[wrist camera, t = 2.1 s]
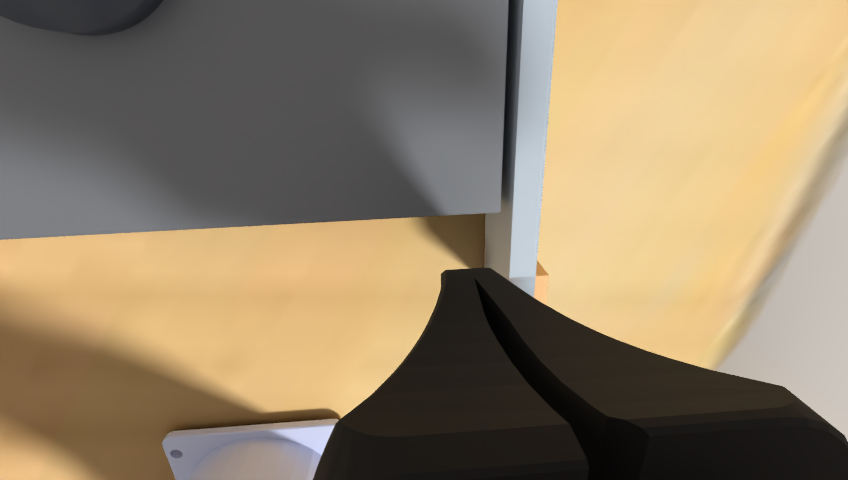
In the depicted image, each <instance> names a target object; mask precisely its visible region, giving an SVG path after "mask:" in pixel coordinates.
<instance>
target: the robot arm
mask: <svg viewBox="0 0 848 480" xmlns="http://www.w3.org/2000/svg"><path fill="white" fill-rule="evenodd" d="M162 446H163V449H164V451H165V454H166V456H167V459H168V462H169V464H170V467H171V469H172V472H173V474H174V477H175V479H176V480H848V442H847V440H846V438H845V436H844V435H843V434H842V433H841V432H839V431H838V430H837V429H836V428H834V427H833V426H832V425H831V424H829V423H828V422H827V421H826V420H825V419H823V418H822V417H821V416H820V415H818V414H817V413H816V412H814V411H813V410H812V409H811V408H810V407H808V406H807V405H806V404H805V403H803V402H802V401H801V400H800V399H799V398H797V397H796V396H795V395H794V394H792V393H791V392H790V391H788V390H787V389H786V388H785V387H783V386H779V385H774V384H770V383H765V382H761V381H757V380H752V379H748V378H743V377H739V376H735V375H730V374H726V373H721V372H717V371H713V370H709V369H705V368H701V367H698V366H694V365H691V364H687V363H684V362H680V361H677V360H673V359H670V358H667V357H664V356H661V355H658V354H654V353H651V352H648V351H645V350H643V349H640V348H637V347H634V346H632V345H629V344H626V343H624V342H621V341H618V340H616V339H613V338H611V337H608V336H606V335H604V334H601V333H599V332H597V331H595V330H593V329H590V328H588V327H586V326H584V325H582V324H580V323H578V322H576V321H574V320H572V319H570V318H568V317H566V316H564V315H562V314H561V313H559V312H557V311H555V310H554V309H552V308H550V307H548V306H547V305H545V304H543V303H542V302H540V301H538V300H537V299H535V298H534V297H532V296H531V295H529V294H528V293H526V292H525V291H523V290H522V289H520V288H519V287H517V286H516V285H514V284H513V283H512V282H510V281H509V280H507V279H506V278H504V277H503V276H502V275H500V274H499V273H497V272H496V271H494V270H493V269H491V268H473V269H457V270H445V271H444V272H443V273H442V274H441V290H440V294H439V297H438V300H437V303H436V306H435V309H434V311H433V313H432V315H431V317H430V320H429V322H428V324H427V326H426V328H425V330H424V331H423V333H422V335H421V337H420V338H419V340H418V341H417V343H416V344H415V346H414V347H413V349H412V350H411V351H410V353H409V354H408V355H407V357H406V358H405V359H404V361H403V362H402V363H401V365H400V366H399V367H398V368H397V369H396V370H395V372H394V373H393V374H392V375H391V376H390V377H389V378H388V379H387V380H386V381H385V382H384V383H383V384H382V385H381V386H380V387H379V388H378V389H377V390H376V391H375V392H374V393H373V394H372V395H371V396H370V397H368V398H367V399H366V400H365V401H363V402H362V403H361V404H359V405H358V406H357V407H356V408H354V409H353V410H352V411H351V412H349V413H348V414H347V415H345V416H344V417H343V418H341V419H340V420H338V419H323V420H310V421H297V422H284V423H271V424H258V425H245V426H232V427H220V428H207V429H194V430H181V431H172V432H170V433H168V434H167V435H166V437H165V438H164V440H163V442H162Z"/></svg>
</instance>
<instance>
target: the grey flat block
mask: <svg viewBox="0 0 848 480" xmlns="http://www.w3.org/2000/svg"><path fill="white" fill-rule="evenodd" d="M508 2H509V0H0V240H2V239H21V238H39V237H57V236H76V235H94V234H113V233H131V232H149V231H168V230H186V229H205V228H223V227H241V226H260V225H278V224H297V223H315V222H333V221H352V220H370V219H389V218H407V217H425V216H444V215H462V214H481V213H499V212H500V207H501V181H502V156H503V130H504V104H505V79H506V53H507V28H508Z"/></svg>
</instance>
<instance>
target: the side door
mask: <svg viewBox="0 0 848 480" xmlns="http://www.w3.org/2000/svg"><path fill="white" fill-rule="evenodd" d="M557 2H558V0H509V2H508V28H507V53H506V79H505V104H504V130H503V156H502V181H501V207H500V212H499V213H485V252H484V268H491V269H493V270H494V271H496V272H497V273H499V274H500V275H502V276H503V277H504V278H506V279H507V280H509V281H510V282H512V283H513V284H514V285H516V286H517V287H519V288H520V289H522V290H523V291H525V292H526V293H528V294H529V295H531V296H532V297H534V298H535V299H537V300H538V301H540V302H542V303H543V304H545V305H546V300H547V289H548V278H549V275H548V274H547V272H546V271H545V270H544V269H543V267H542V266H541V265H540V264H539V262H538V261H537V253H538V241H539V228H540V216H541V203H542V191H543V178H544V165H545V153H546V140H547V128H548V115H549V103H550V90H551V78H552V65H553V52H554V40H555V27H556V15H557Z"/></svg>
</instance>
